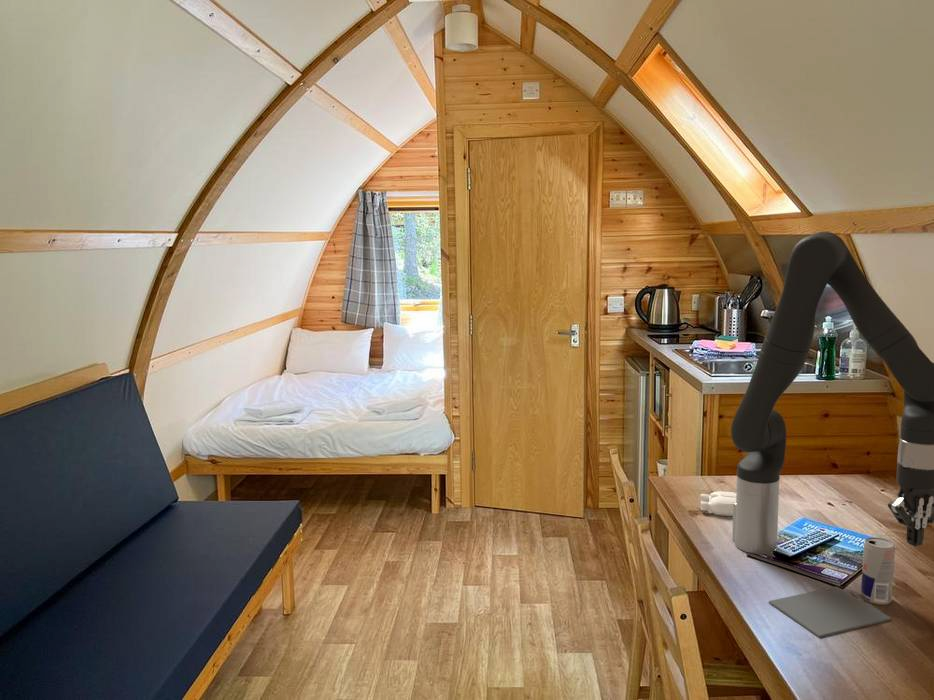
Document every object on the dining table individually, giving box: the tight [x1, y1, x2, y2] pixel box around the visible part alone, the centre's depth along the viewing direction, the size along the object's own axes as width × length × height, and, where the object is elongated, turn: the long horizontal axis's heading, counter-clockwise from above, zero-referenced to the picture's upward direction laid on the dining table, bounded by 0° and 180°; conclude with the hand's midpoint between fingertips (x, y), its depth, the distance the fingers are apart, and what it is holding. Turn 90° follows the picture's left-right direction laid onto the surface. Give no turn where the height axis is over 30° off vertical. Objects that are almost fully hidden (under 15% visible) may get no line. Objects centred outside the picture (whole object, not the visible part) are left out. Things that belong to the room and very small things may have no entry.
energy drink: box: [860, 536, 896, 606], centre depth 138 cm, size 5×5×12 cm
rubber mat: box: [768, 586, 892, 638], centre depth 135 cm, size 13×17×1 cm
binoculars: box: [700, 491, 736, 518], centre depth 184 cm, size 10×16×5 cm, turn 72°
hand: (914, 544), depth 139 cm, fingers closed
